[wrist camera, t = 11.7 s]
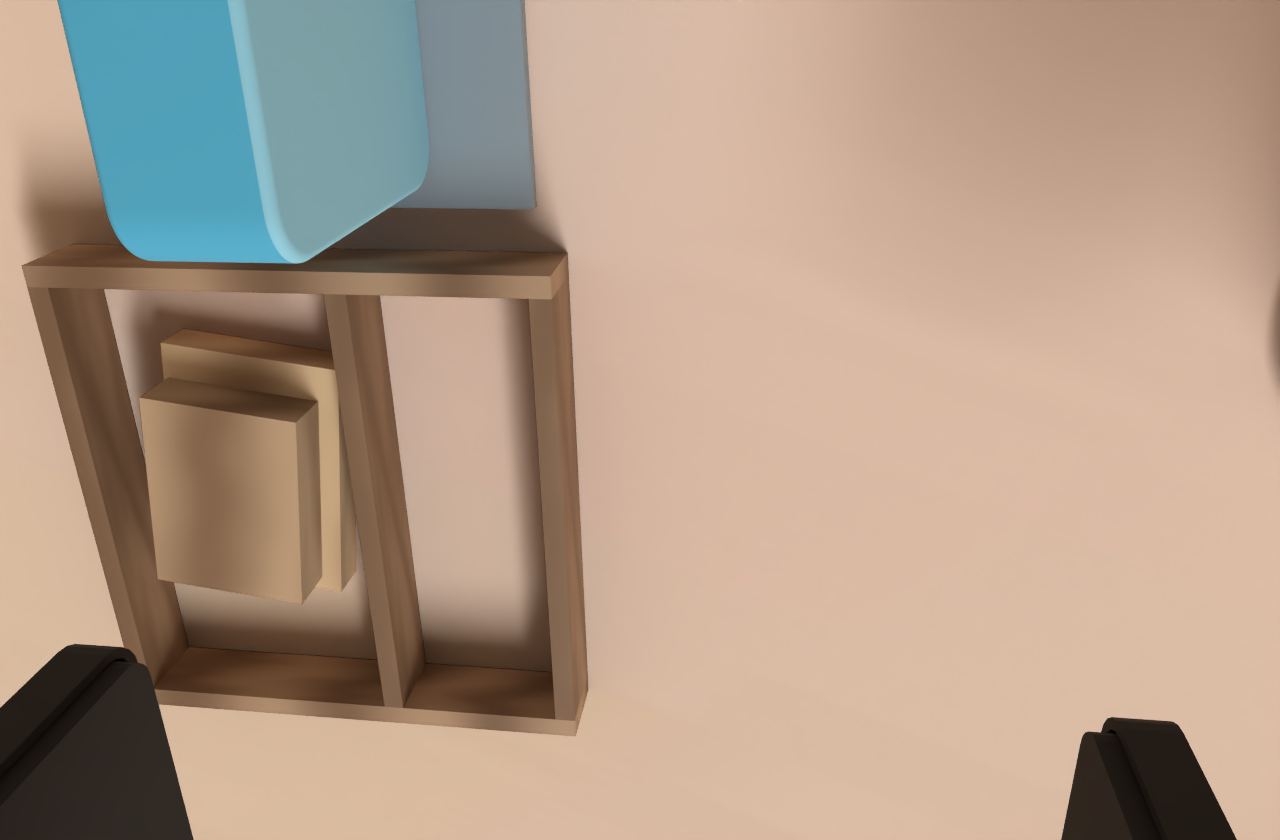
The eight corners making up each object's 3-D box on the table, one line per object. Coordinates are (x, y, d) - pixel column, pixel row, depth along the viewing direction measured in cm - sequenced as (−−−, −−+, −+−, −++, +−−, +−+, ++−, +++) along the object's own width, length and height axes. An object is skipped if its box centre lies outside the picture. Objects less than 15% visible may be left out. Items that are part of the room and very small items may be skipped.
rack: (567, 252, 38) (550, 276, 35) (588, 689, 46) (575, 736, 43) (73, 244, 40) (21, 265, 37) (175, 660, 48) (139, 702, 45)
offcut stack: (358, 351, 41) (316, 390, 37) (359, 566, 45) (321, 620, 41) (187, 325, 41) (130, 361, 38) (204, 539, 46) (154, 590, 42)
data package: (255, -210, 32) (-16, -290, 21) (395, -216, 32) (189, -301, 21) (313, 180, 37) (116, 276, 26) (435, 181, 37) (285, 279, 26)
